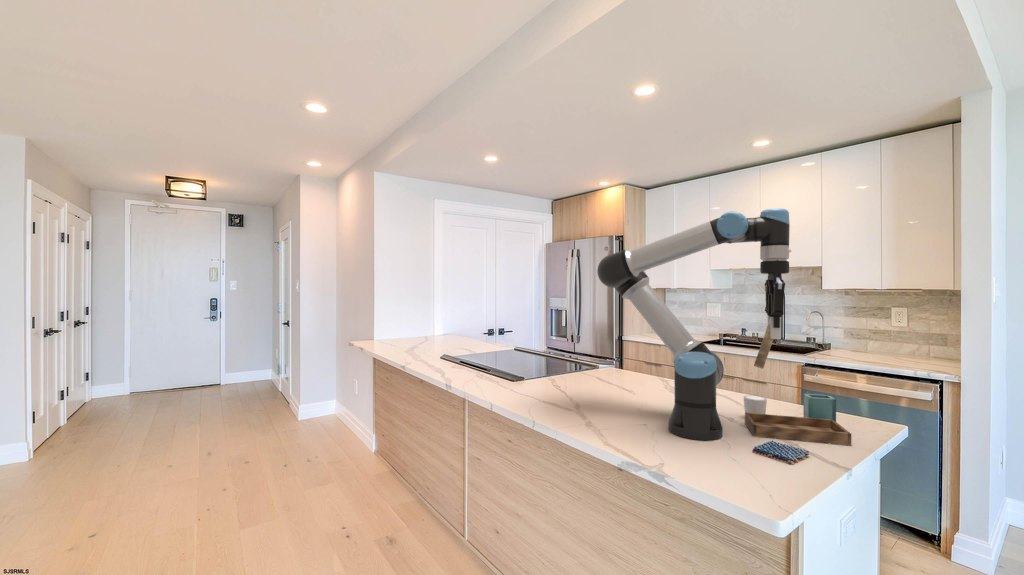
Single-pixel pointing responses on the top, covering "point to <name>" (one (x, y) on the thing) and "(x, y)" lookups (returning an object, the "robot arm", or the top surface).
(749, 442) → the top surface
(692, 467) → the top surface
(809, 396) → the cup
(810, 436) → the tray
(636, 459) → the top surface
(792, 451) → the woven mat
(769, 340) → the dowel
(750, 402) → the shot glass
